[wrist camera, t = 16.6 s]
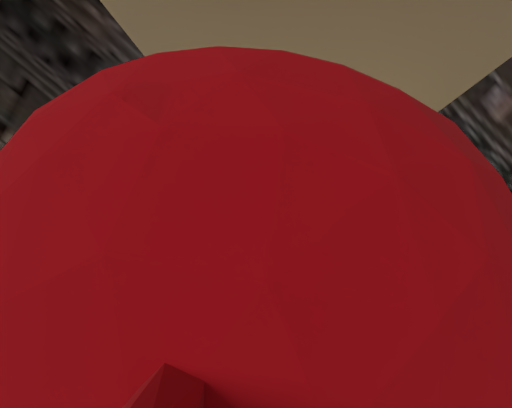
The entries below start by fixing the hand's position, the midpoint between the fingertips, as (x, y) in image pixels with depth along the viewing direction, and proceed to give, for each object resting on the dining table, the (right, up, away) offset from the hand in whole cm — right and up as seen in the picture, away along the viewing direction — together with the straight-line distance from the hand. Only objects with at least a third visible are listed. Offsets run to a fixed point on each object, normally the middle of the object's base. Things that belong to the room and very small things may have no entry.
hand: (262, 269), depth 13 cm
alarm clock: (+2, +2, +1) cm, 3 cm away
